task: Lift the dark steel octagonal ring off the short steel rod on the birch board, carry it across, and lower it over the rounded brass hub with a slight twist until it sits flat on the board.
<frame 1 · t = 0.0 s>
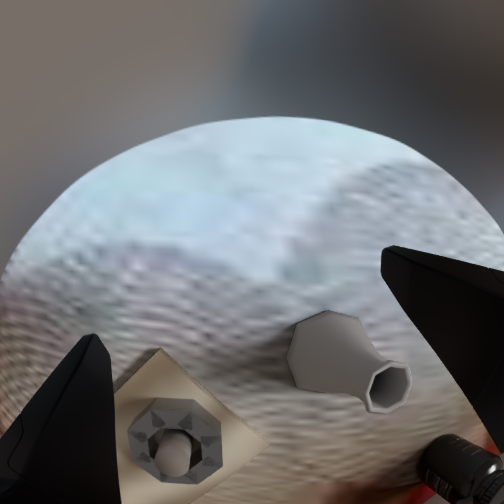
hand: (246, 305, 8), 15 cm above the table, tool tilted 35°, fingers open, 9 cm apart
base board: (134, 466, 20), on the table
steel ring: (178, 435, 20), point 1 cm above the table, touching base board
supplement bottle: (436, 455, 24), on the table
flask: (326, 352, 24), on the table
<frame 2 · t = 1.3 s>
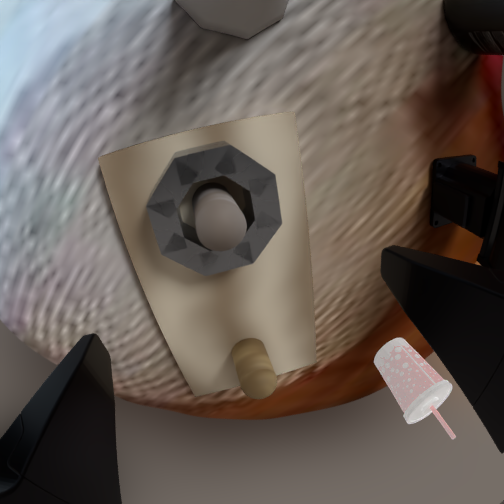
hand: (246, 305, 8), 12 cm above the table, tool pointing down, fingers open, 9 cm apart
base board: (229, 281, 22), on the table
steel ring: (211, 201, 18), point 1 cm above the table, touching base board
supplement bottle: (462, 22, 16), on the table
beverage cup: (389, 351, 32), on the table
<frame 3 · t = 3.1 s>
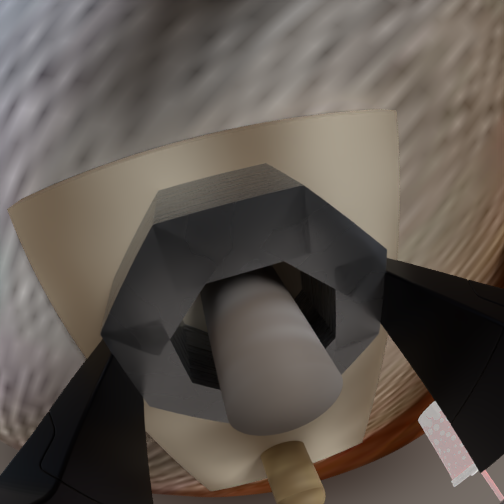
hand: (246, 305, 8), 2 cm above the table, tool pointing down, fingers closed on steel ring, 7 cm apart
base board: (262, 384, 13), on the table
steel ring: (238, 286, 9), point 1 cm above the table, touching base board, gripper
beverage cup: (434, 406, 23), on the table
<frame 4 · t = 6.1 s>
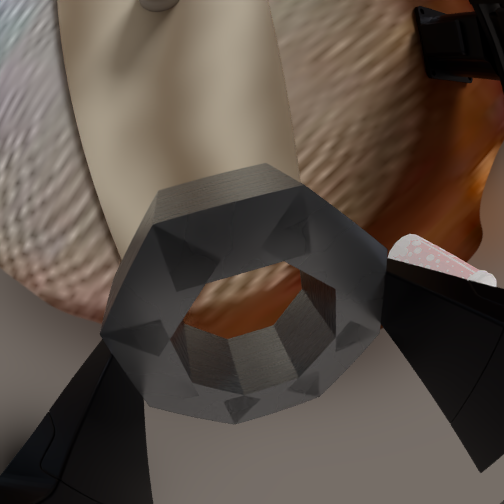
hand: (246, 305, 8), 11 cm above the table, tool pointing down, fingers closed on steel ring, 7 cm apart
base board: (179, 94, 15), on the table
steel ring: (238, 286, 9), point 10 cm above the table, touching gripper
beverage cup: (403, 256, 25), on the table
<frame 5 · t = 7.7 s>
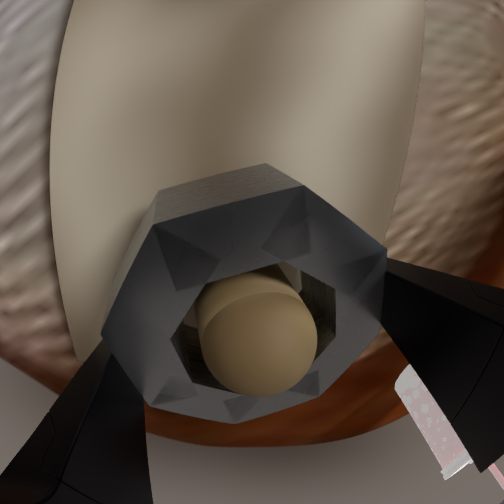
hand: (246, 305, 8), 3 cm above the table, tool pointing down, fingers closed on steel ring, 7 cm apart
base board: (254, 73, 8), on the table
steel ring: (238, 286, 9), point 2 cm above the table, touching gripper
beverage cup: (416, 369, 20), on the table
when the fingers open (3 cm above the table, at t = 8.9 s): steel ring stays where it is, resting on base board.
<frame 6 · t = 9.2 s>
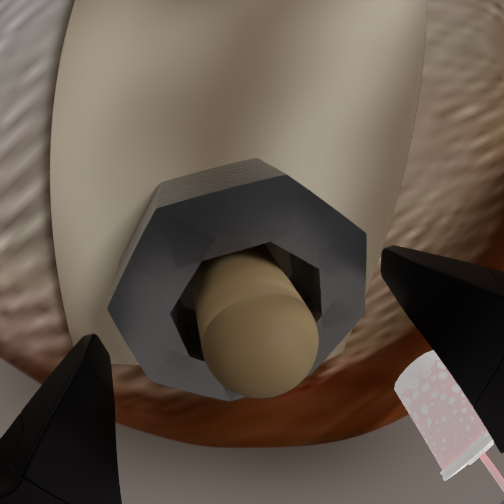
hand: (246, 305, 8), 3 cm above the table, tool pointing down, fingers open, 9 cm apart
base board: (255, 73, 8), on the table
steel ring: (233, 270, 10), point 1 cm above the table, touching base board
beverage cup: (416, 370, 20), on the table
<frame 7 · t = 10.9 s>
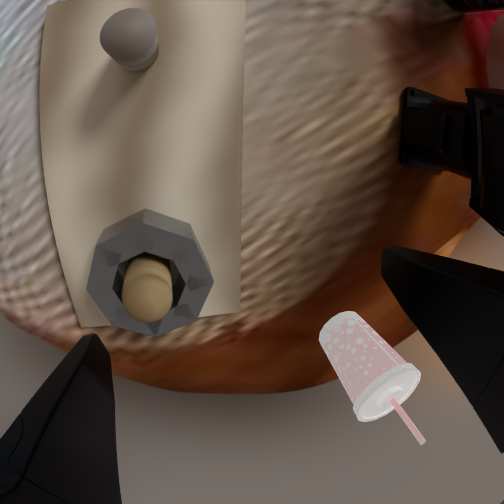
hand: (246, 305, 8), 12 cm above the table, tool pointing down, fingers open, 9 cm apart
base board: (139, 160, 16), on the table
steel ring: (149, 265, 18), point 1 cm above the table, touching base board
beverage cup: (339, 329, 28), on the table
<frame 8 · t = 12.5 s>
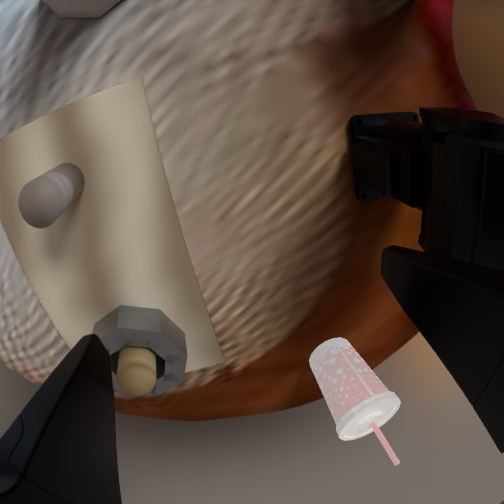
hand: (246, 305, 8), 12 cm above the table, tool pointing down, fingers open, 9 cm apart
base board: (105, 266, 19), on the table
steel ring: (138, 343, 21), point 1 cm above the table, touching base board
beverage cup: (328, 353, 29), on the table
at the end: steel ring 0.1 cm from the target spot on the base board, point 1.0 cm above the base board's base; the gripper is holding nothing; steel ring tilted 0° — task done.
